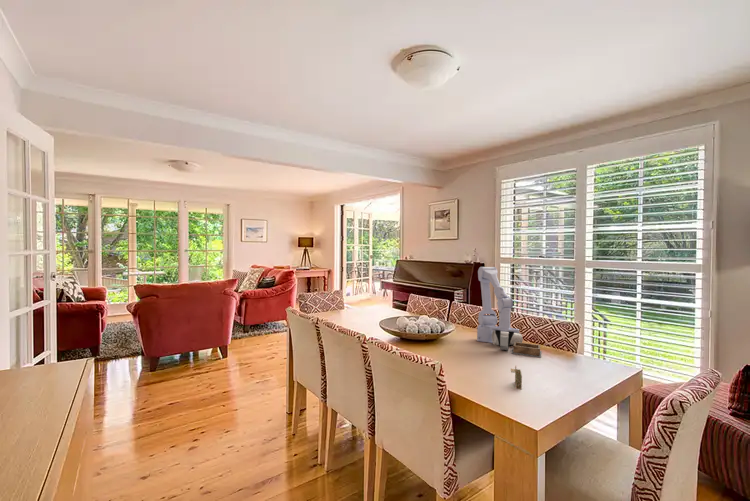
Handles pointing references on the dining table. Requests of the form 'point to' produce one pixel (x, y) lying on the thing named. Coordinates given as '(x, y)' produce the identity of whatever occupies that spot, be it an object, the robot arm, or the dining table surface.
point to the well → (526, 348)
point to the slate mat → (527, 354)
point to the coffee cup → (515, 337)
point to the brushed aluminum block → (504, 342)
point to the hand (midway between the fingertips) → (504, 344)
